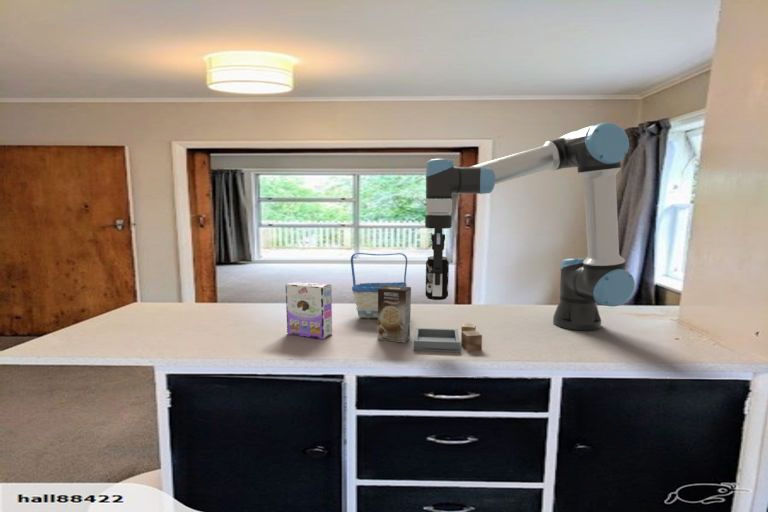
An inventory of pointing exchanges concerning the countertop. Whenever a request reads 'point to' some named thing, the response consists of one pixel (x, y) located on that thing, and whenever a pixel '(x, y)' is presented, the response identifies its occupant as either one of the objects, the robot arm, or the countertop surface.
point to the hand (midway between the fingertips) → (436, 293)
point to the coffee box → (394, 313)
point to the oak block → (468, 327)
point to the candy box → (309, 309)
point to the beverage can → (430, 278)
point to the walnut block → (471, 340)
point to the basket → (370, 292)
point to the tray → (436, 340)
